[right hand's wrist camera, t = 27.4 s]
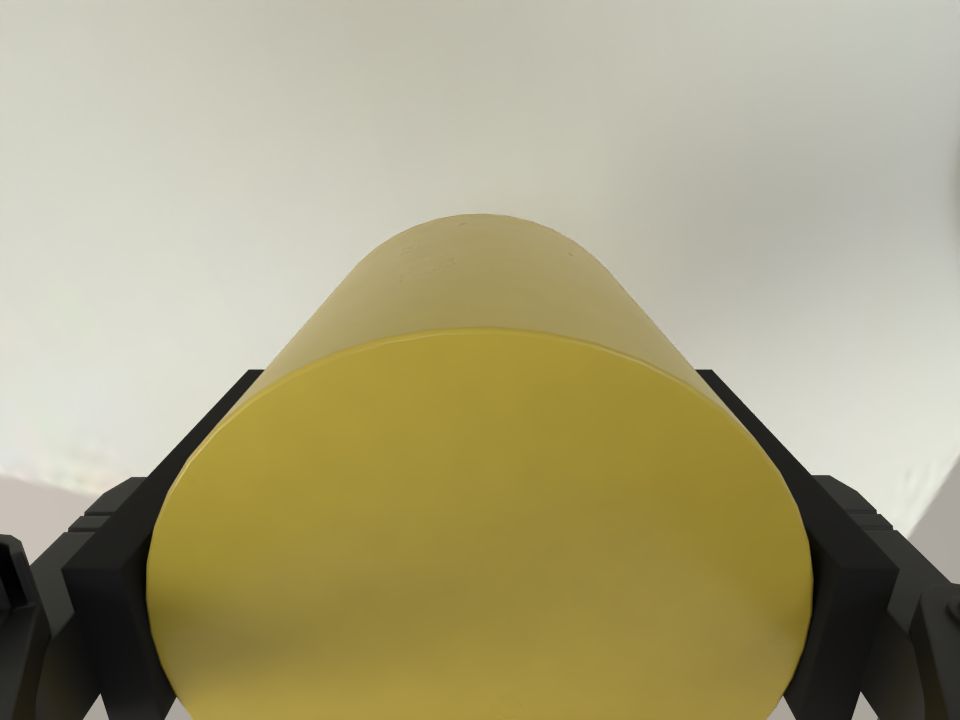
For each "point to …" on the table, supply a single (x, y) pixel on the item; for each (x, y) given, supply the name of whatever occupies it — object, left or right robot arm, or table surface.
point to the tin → (479, 510)
